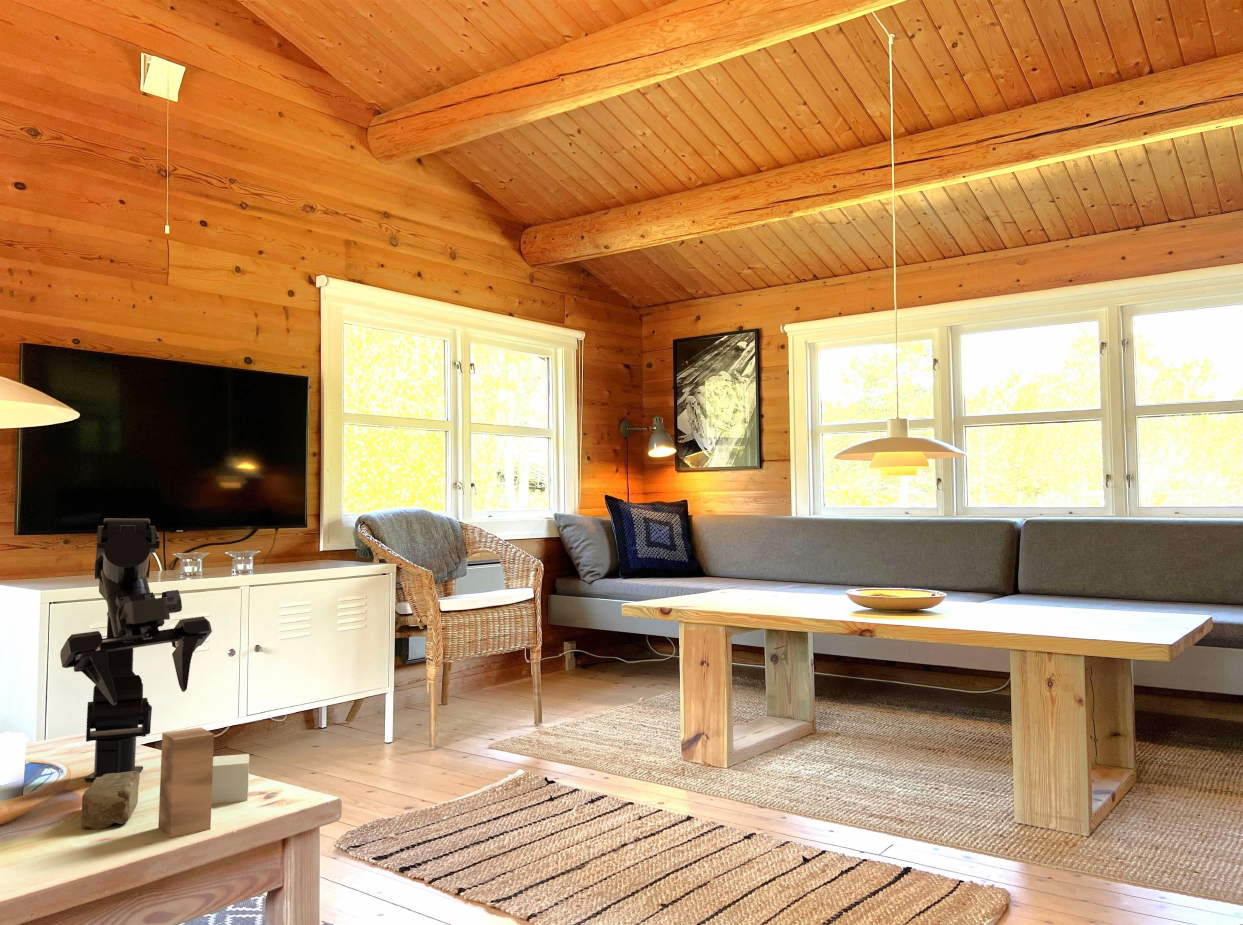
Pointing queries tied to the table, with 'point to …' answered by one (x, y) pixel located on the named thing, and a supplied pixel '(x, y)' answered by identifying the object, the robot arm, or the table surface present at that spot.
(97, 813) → the stone block
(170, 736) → the oak pillar
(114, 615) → the robot arm
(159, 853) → the table surface
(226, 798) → the sage cube
